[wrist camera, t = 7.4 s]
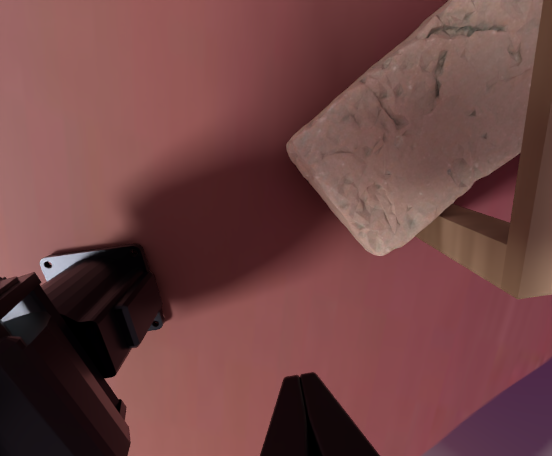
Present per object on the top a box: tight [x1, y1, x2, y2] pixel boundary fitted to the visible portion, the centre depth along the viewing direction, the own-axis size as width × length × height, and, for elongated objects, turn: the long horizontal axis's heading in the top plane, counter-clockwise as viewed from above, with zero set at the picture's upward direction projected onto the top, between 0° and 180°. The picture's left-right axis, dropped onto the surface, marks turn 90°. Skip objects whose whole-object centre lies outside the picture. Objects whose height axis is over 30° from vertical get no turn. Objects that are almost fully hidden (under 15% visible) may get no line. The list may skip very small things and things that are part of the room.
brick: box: [286, 0, 543, 256], centre depth 15 cm, size 17×8×5 cm, turn 130°
